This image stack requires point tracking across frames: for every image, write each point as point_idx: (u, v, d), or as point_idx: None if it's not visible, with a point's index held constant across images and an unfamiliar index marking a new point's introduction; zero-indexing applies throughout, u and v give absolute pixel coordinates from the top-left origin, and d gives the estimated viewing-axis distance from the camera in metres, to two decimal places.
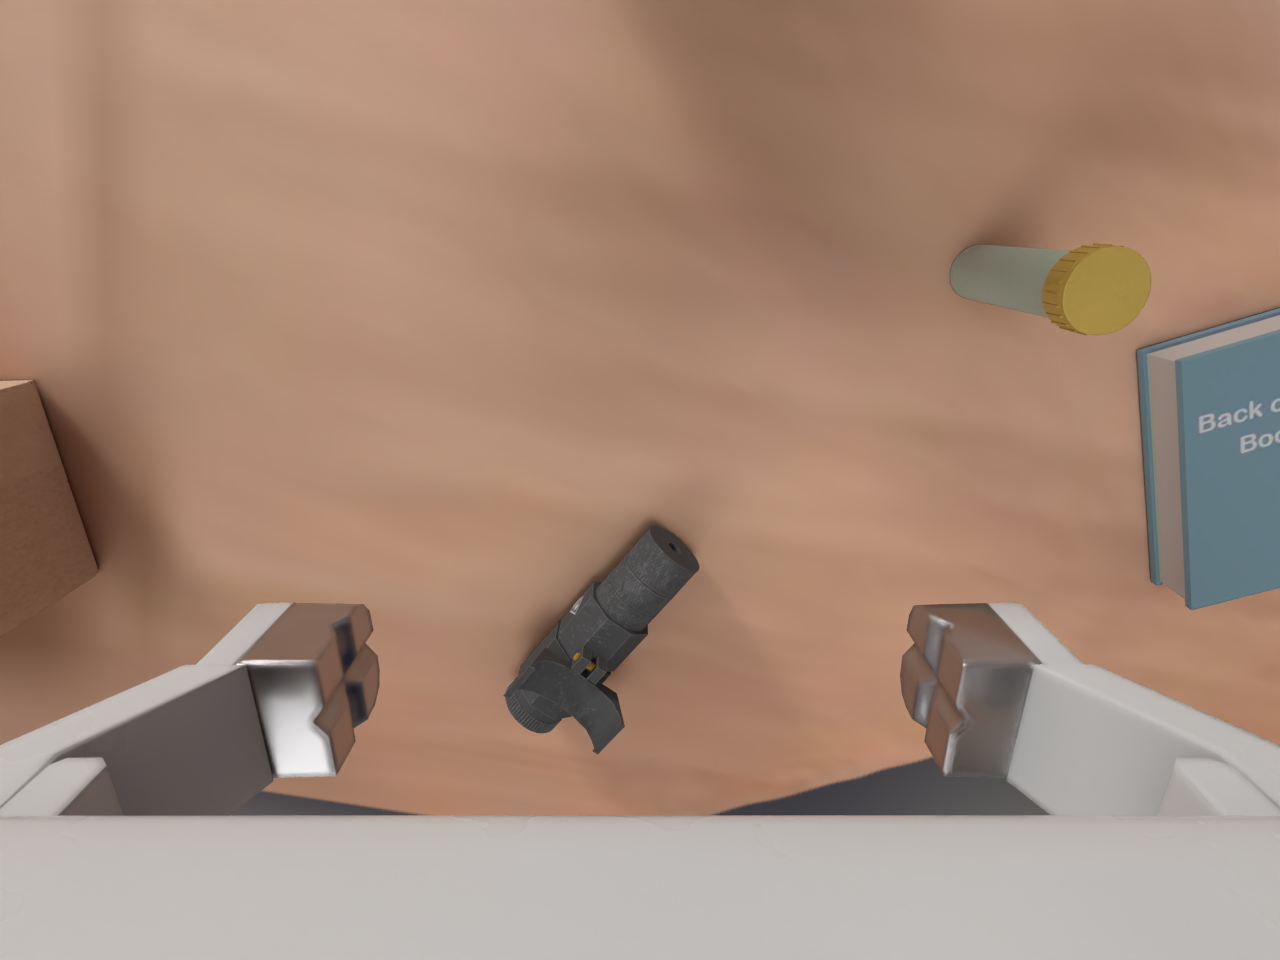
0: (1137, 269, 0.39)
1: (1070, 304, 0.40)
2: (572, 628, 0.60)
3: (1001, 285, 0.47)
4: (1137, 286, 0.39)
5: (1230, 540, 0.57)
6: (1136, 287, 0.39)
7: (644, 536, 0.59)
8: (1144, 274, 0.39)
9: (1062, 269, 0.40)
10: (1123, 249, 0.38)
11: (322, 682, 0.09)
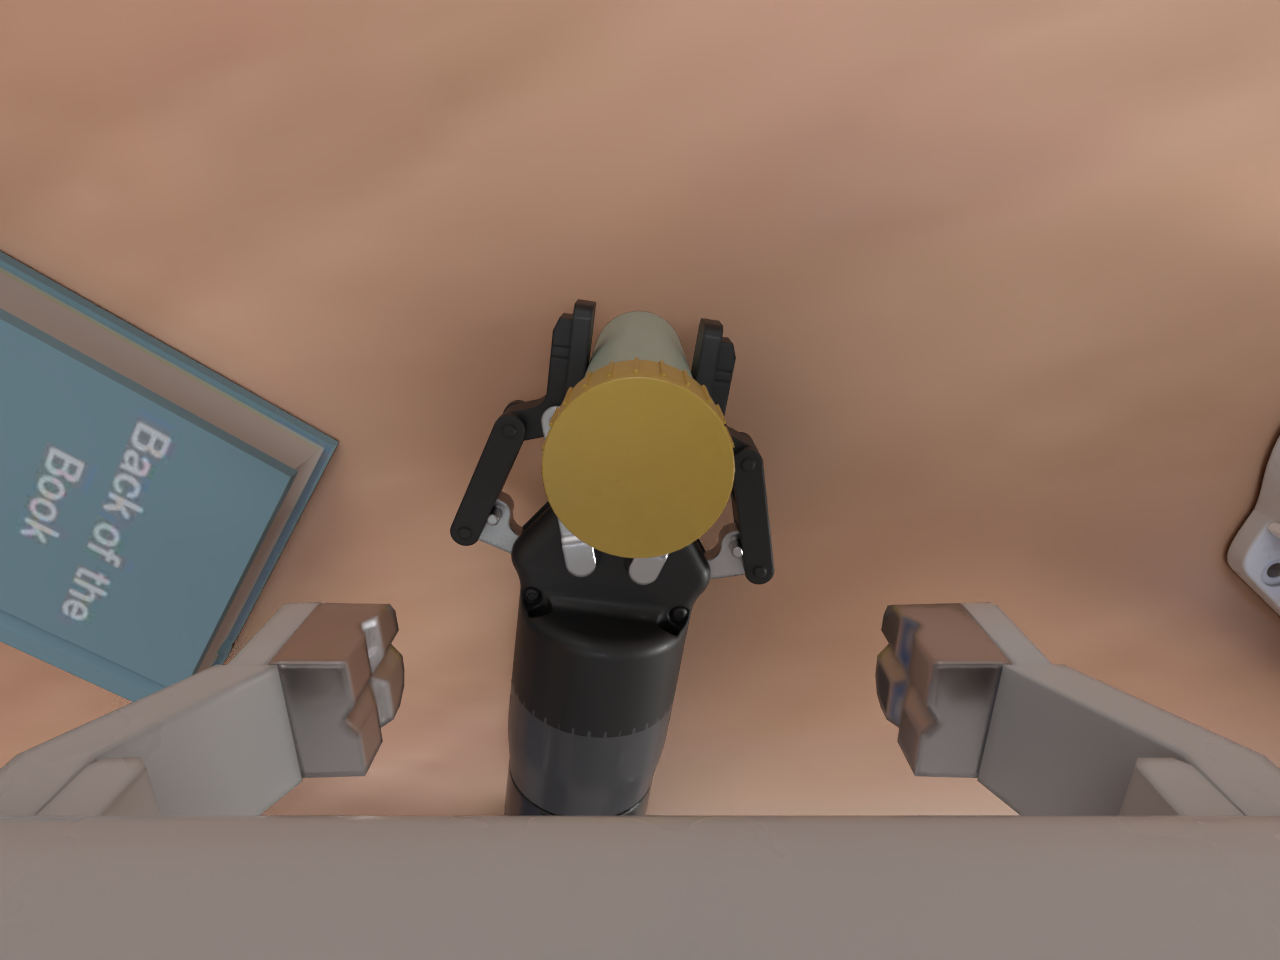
0: (625, 538, 0.18)
1: (680, 404, 0.17)
2: None
3: (677, 354, 0.24)
4: (596, 518, 0.18)
5: None
6: (595, 516, 0.18)
7: None
8: (605, 541, 0.18)
9: None
10: (682, 543, 0.18)
11: (352, 682, 0.09)
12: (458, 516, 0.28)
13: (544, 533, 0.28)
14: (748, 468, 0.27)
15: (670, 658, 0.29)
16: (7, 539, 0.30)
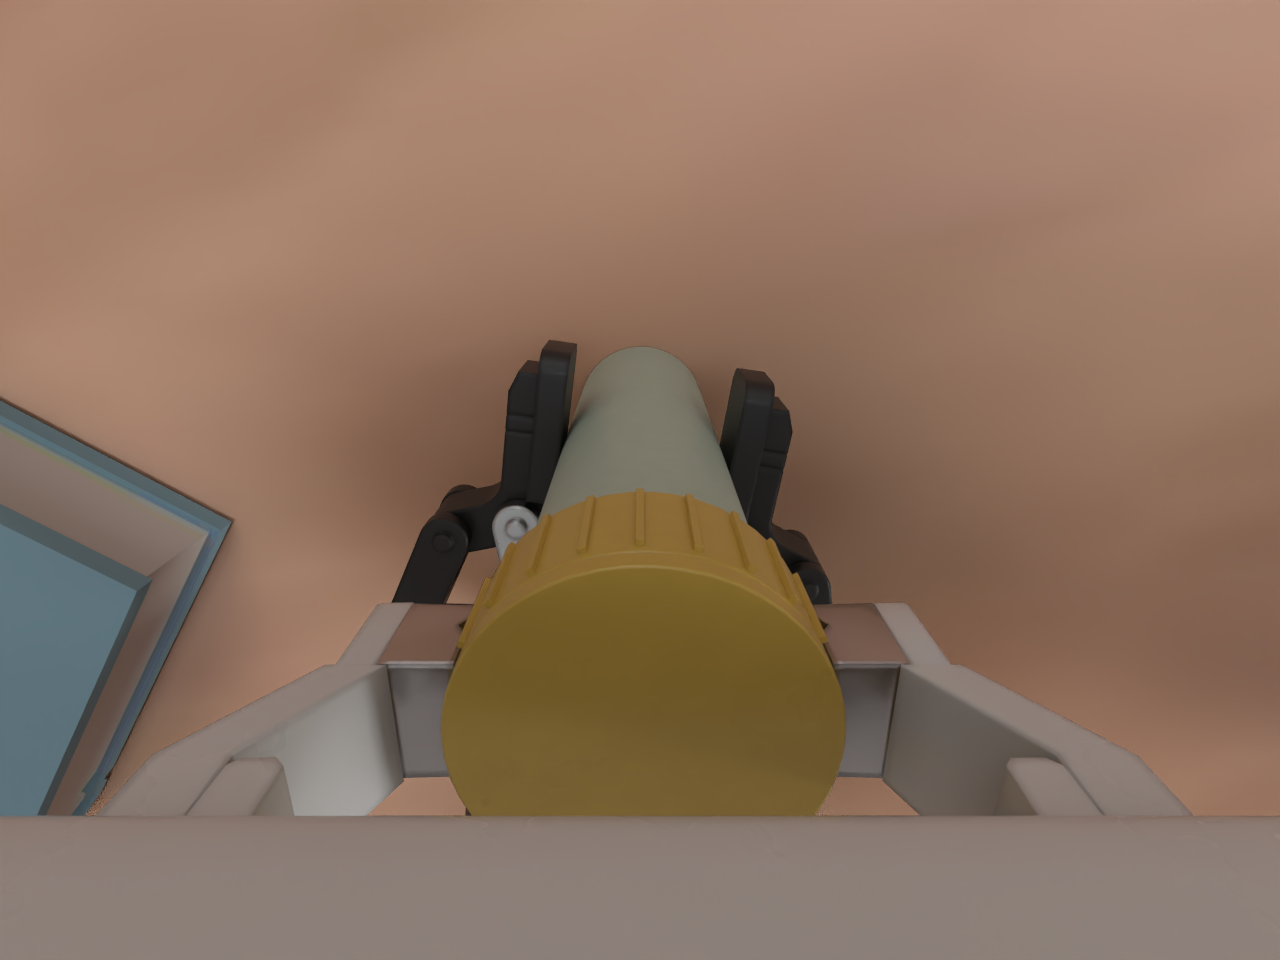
0: None
1: (736, 619, 0.08)
2: None
3: (703, 433, 0.15)
4: None
5: None
6: None
7: None
8: None
9: None
10: None
11: None
12: None
13: None
14: (809, 597, 0.18)
15: None
16: None
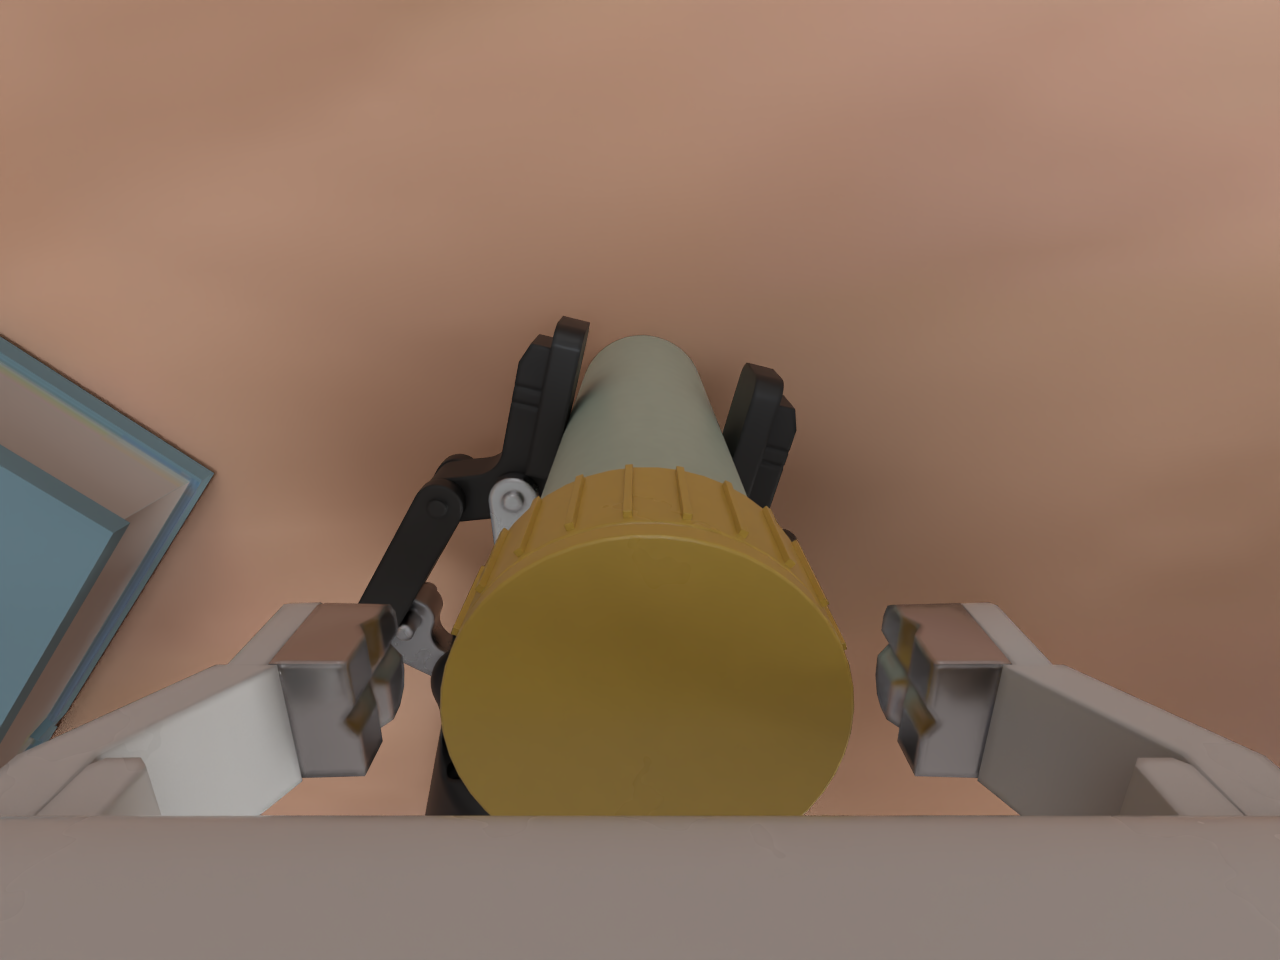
0: (773, 790, 0.09)
1: (538, 600, 0.08)
2: None
3: (711, 422, 0.15)
4: None
5: None
6: None
7: None
8: None
9: (690, 501, 0.08)
10: (843, 703, 0.08)
11: (353, 681, 0.09)
12: None
13: None
14: None
15: None
16: None
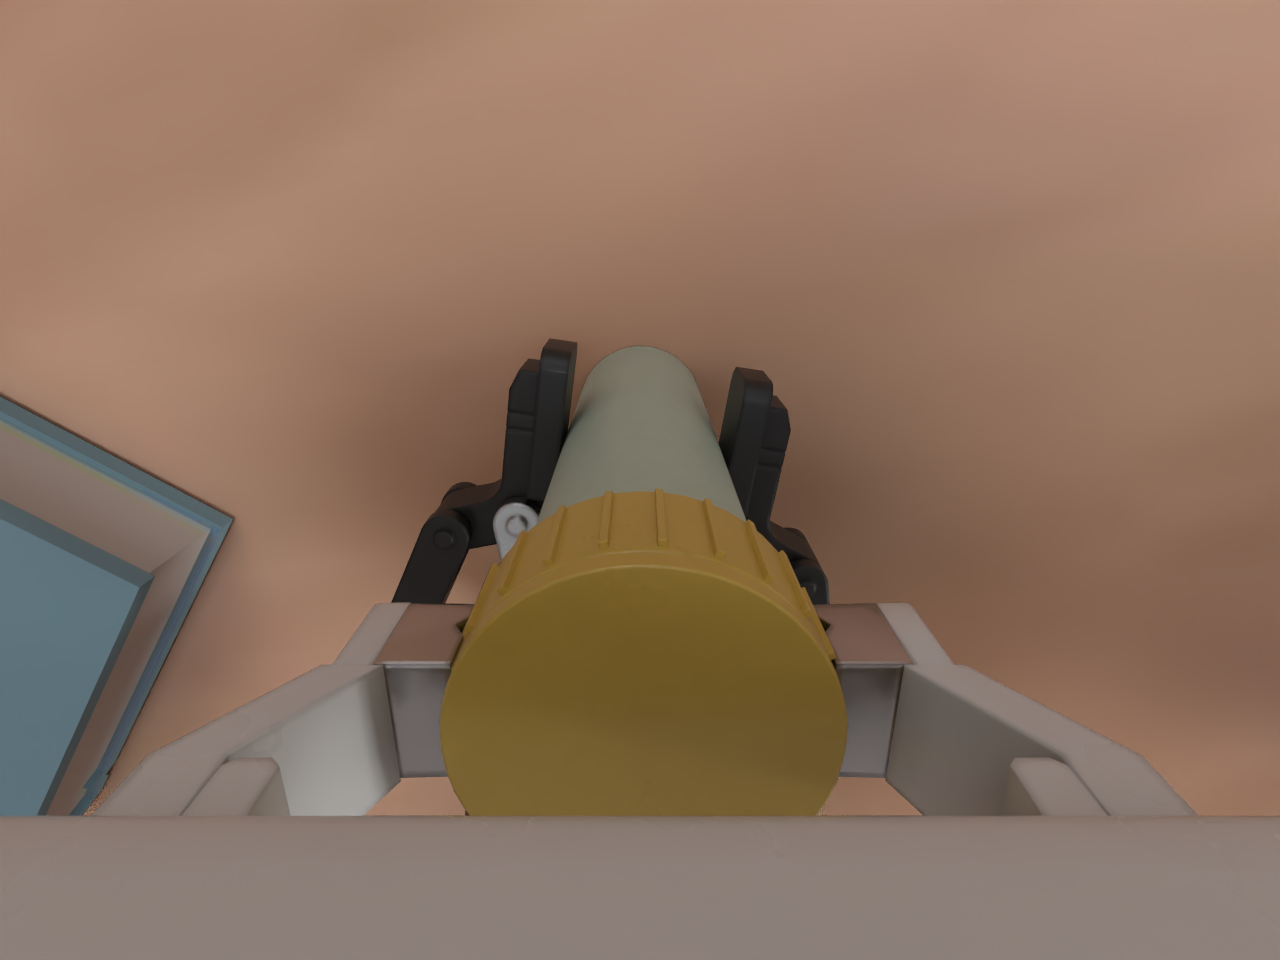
0: (776, 803, 0.09)
1: (522, 638, 0.08)
2: None
3: (702, 431, 0.15)
4: None
5: None
6: None
7: None
8: None
9: (668, 524, 0.09)
10: (836, 713, 0.08)
11: None
12: None
13: None
14: None
15: None
16: None
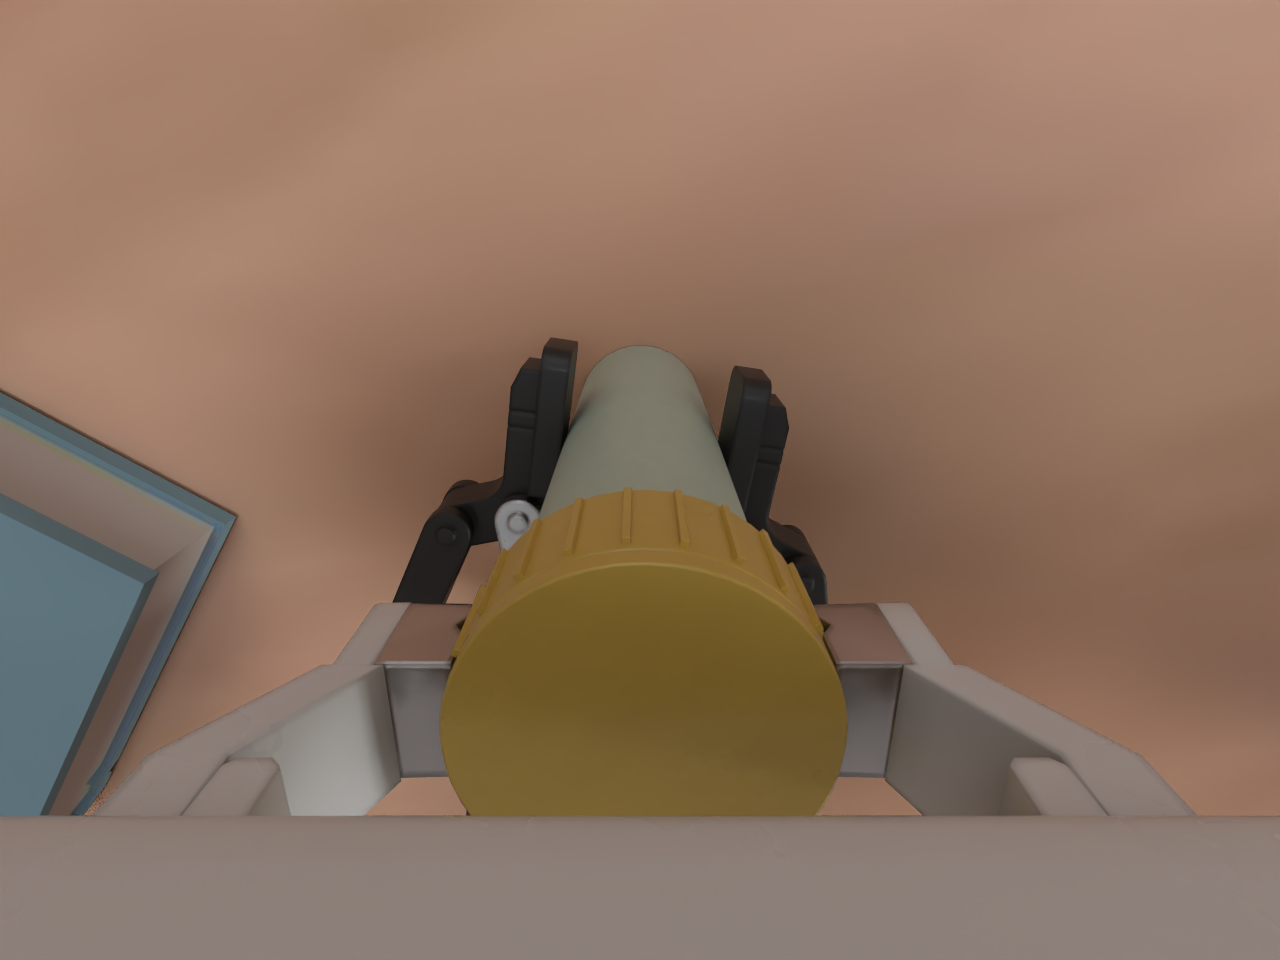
0: (761, 651, 0.08)
1: (493, 798, 0.09)
2: None
3: (702, 428, 0.16)
4: (782, 717, 0.08)
5: None
6: (778, 721, 0.08)
7: None
8: (803, 668, 0.08)
9: None
10: (663, 574, 0.07)
11: None
12: None
13: None
14: None
15: None
16: None
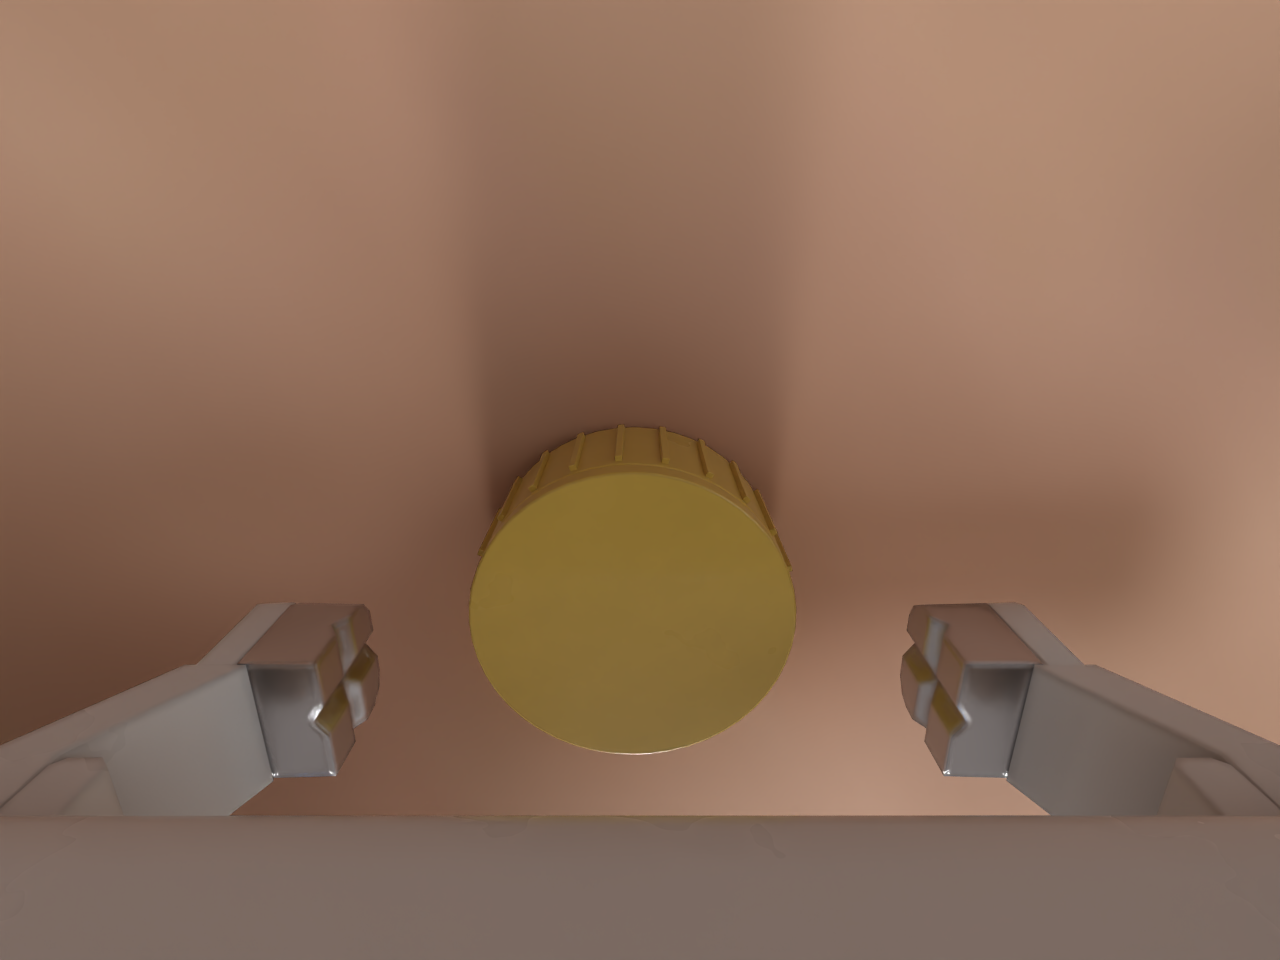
0: (726, 546, 0.10)
1: (511, 671, 0.11)
2: None
3: None
4: (743, 602, 0.10)
5: None
6: (740, 605, 0.10)
7: None
8: (759, 561, 0.10)
9: (495, 530, 0.11)
10: (647, 482, 0.09)
11: (322, 681, 0.09)
12: None
13: None
14: None
15: None
16: None
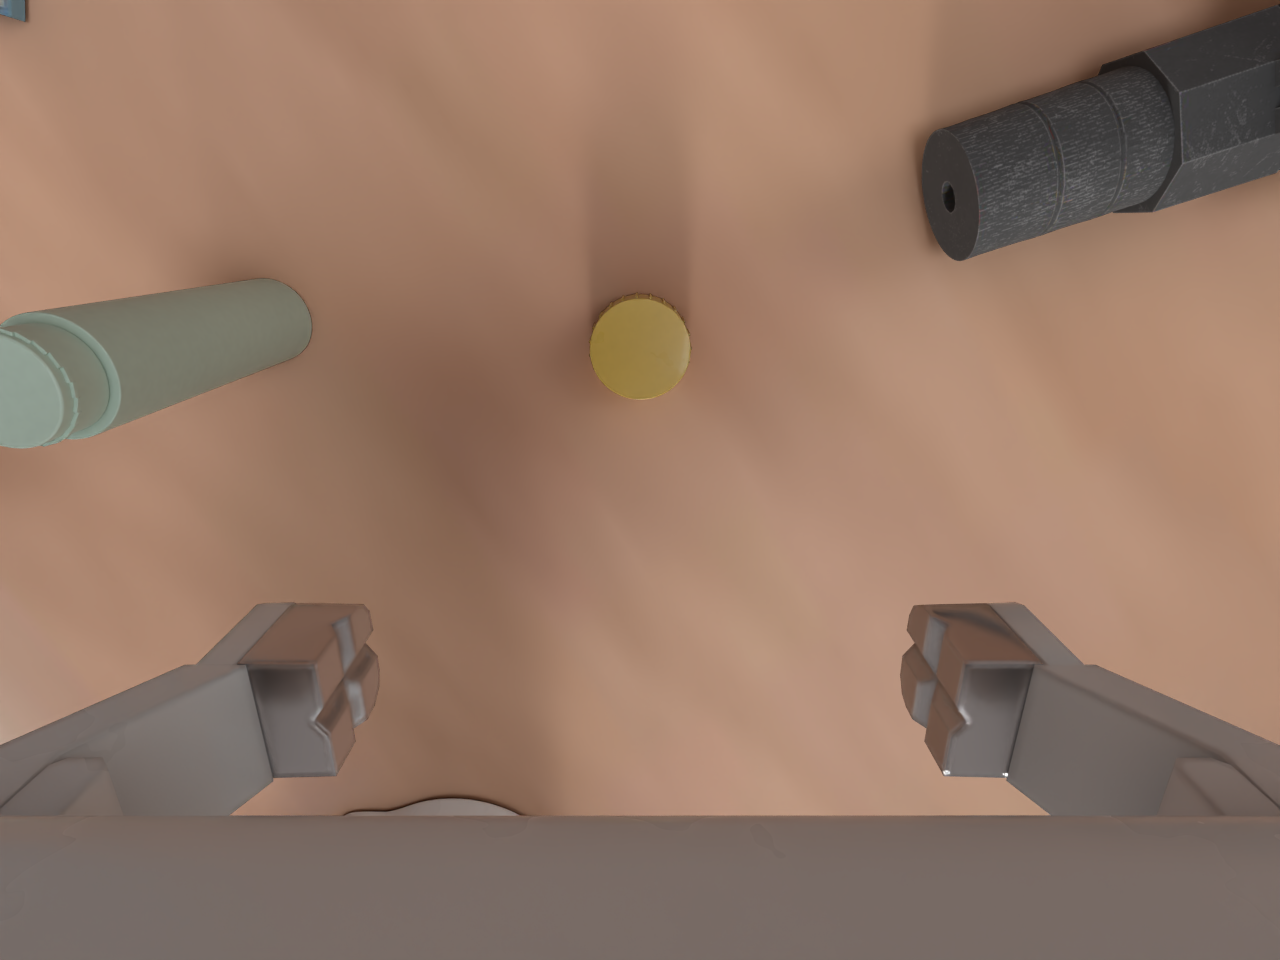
0: (668, 323, 0.33)
1: (601, 366, 0.34)
2: (1245, 173, 0.28)
3: (217, 369, 0.28)
4: (674, 342, 0.33)
5: None
6: (673, 343, 0.33)
7: None
8: (678, 328, 0.33)
9: (595, 325, 0.34)
10: (645, 301, 0.33)
11: (322, 681, 0.09)
12: None
13: None
14: None
15: None
16: None
